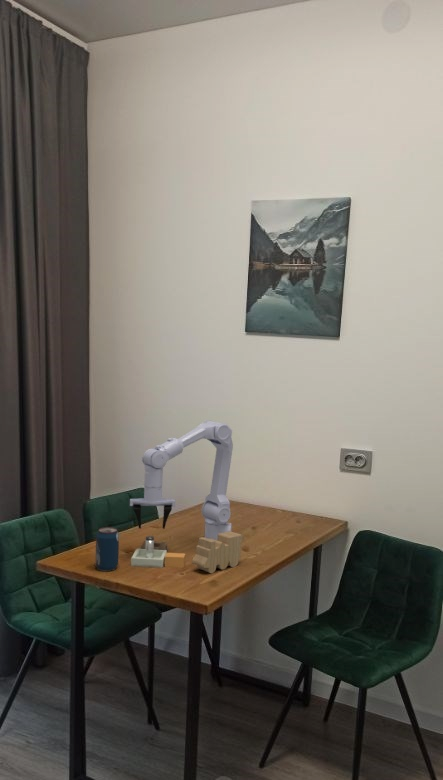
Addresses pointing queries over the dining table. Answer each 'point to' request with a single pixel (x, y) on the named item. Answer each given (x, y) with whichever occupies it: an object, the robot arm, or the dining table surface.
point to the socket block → (156, 545)
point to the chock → (175, 560)
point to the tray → (141, 561)
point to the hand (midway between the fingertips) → (151, 527)
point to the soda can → (107, 549)
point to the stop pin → (149, 547)
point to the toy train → (218, 552)
